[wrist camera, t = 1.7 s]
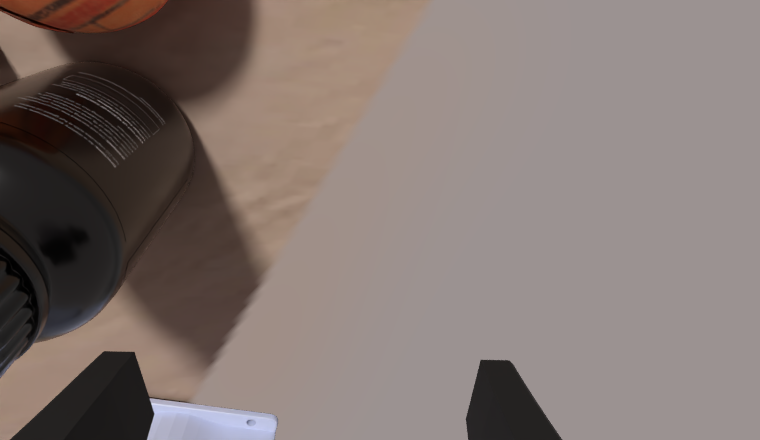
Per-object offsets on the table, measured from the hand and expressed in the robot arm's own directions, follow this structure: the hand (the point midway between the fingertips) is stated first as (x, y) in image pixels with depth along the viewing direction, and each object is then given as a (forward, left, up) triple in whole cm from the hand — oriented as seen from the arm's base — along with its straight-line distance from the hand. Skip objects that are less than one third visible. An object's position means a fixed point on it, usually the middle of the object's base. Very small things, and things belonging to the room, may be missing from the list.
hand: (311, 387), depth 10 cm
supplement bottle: (+9, +1, -13) cm, 16 cm away
